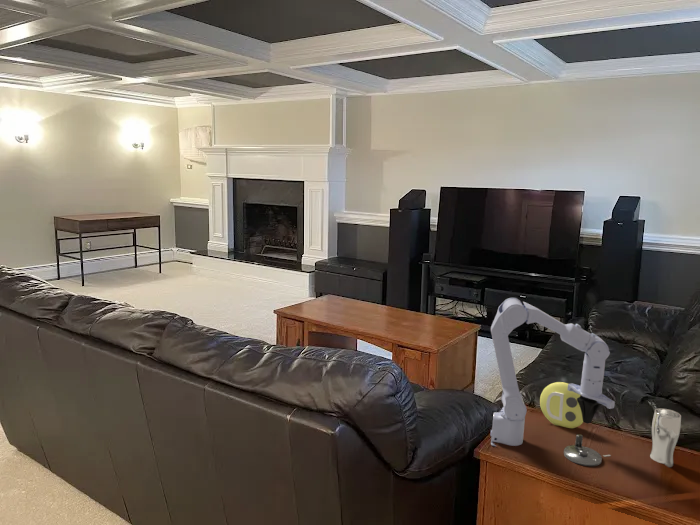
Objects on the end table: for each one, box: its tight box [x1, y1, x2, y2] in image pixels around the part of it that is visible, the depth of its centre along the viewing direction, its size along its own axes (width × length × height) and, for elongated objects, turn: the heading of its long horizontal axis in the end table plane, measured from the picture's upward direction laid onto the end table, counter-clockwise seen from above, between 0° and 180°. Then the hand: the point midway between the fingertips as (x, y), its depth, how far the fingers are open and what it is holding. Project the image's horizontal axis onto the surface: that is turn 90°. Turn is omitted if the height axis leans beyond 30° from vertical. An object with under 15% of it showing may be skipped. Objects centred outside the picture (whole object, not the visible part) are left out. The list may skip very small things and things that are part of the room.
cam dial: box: [563, 433, 603, 467], centre depth 156 cm, size 11×10×4 cm
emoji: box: [539, 381, 584, 429], centre depth 176 cm, size 5×15×15 cm
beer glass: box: [649, 408, 682, 468], centre depth 156 cm, size 7×7×15 cm
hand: (587, 422), depth 160 cm, fingers closed
